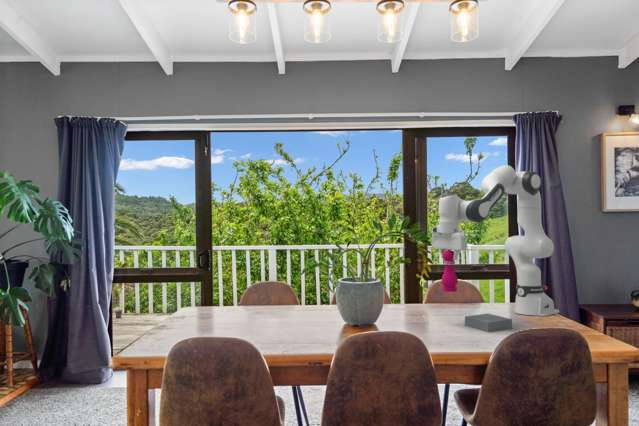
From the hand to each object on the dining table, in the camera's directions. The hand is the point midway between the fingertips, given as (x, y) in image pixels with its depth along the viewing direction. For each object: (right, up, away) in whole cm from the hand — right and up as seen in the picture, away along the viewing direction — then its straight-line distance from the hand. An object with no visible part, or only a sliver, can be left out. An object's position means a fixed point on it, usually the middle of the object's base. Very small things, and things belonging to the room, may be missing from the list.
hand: (449, 259), depth 215 cm
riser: (+16, -30, -5) cm, 34 cm away
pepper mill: (0, -15, 0) cm, 15 cm away
